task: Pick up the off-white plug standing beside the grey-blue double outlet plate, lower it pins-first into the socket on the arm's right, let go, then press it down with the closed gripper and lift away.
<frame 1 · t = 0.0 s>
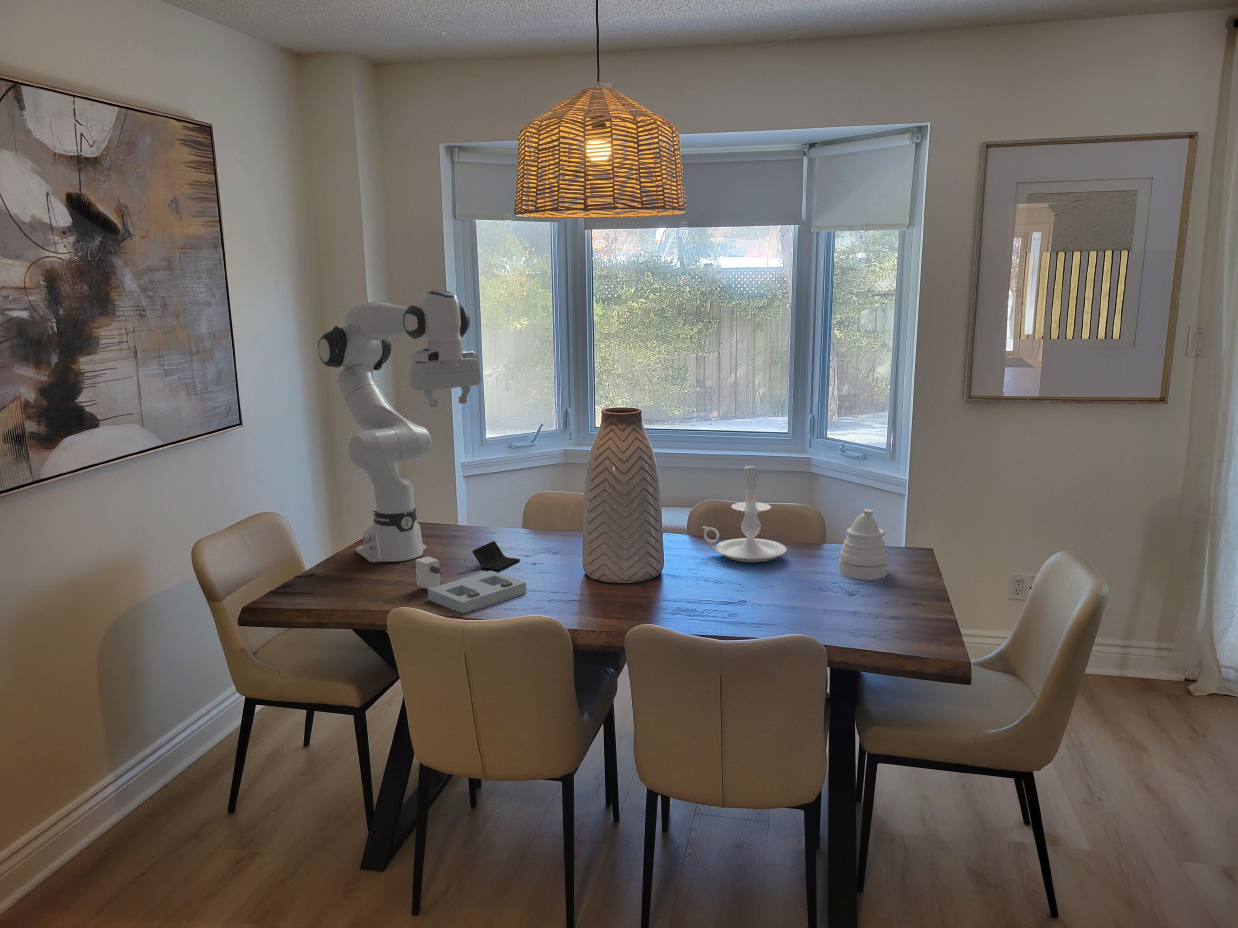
hand: (448, 405, 229), 48 cm above the table, tool pointing down, fingers open, 8 cm apart
plug: (428, 588, 229), on the table
outlet plate: (477, 596, 222), on the table
handheld gaming console: (496, 566, 249), on the table
candlestick: (743, 558, 251), on the table
honey pot: (863, 572, 236), on the table
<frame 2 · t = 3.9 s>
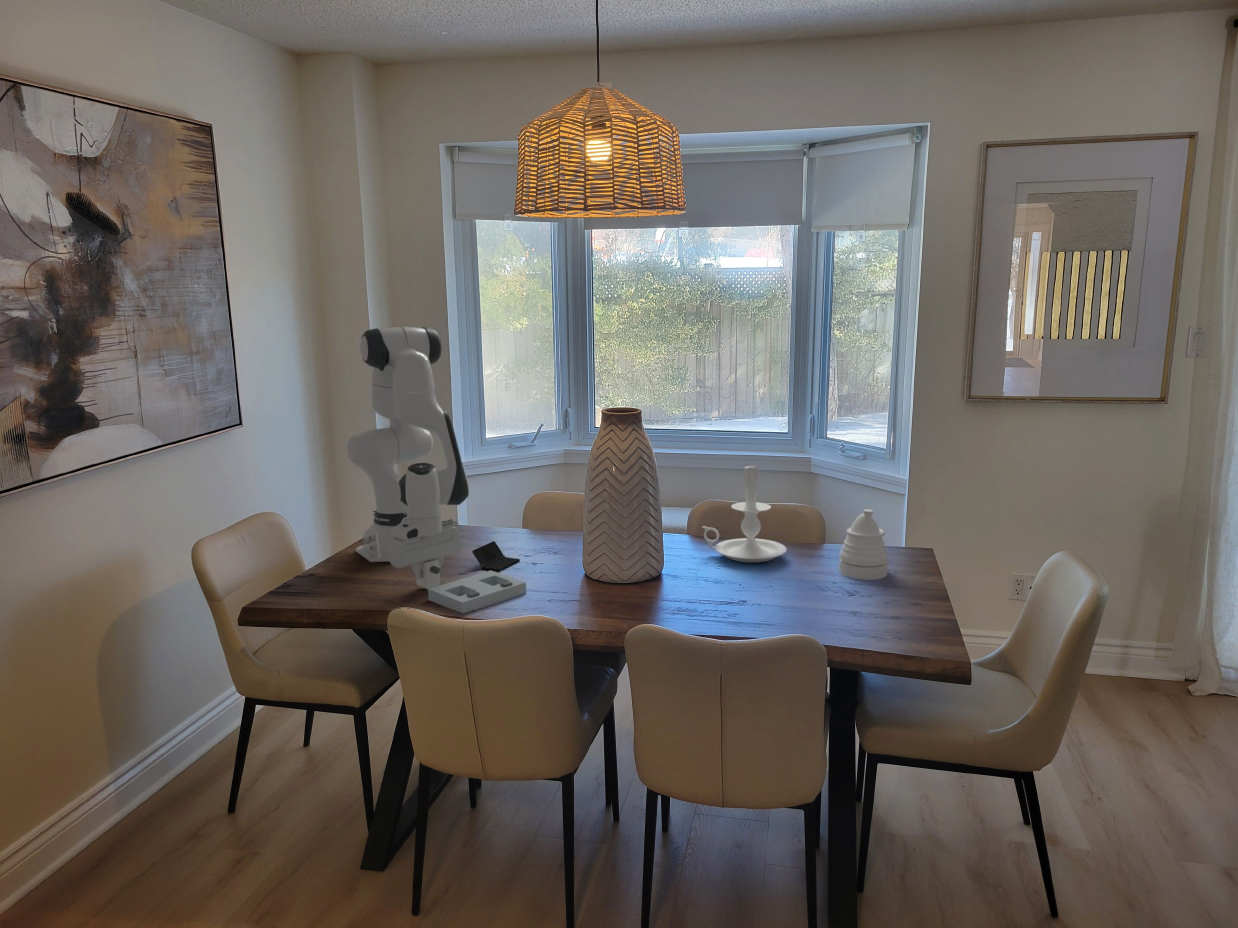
hand: (428, 575, 228), 4 cm above the table, tool pointing down, fingers closed on plug, 4 cm apart
plug: (428, 588, 229), on the table, touching gripper
everything else where it was.
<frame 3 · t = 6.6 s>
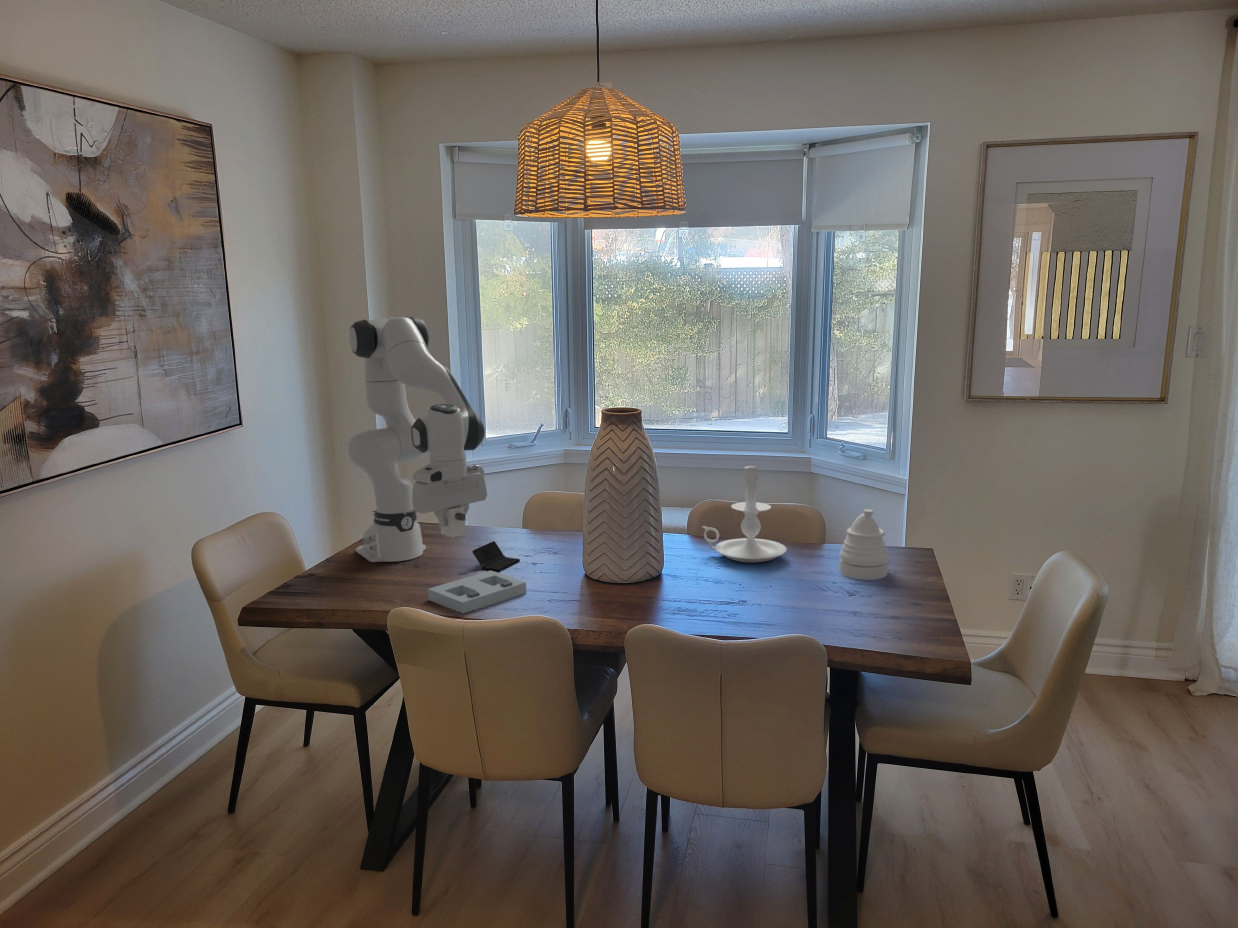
hand: (452, 524, 215), 20 cm above the table, tool pointing down, fingers closed on plug, 4 cm apart
plug: (453, 537, 216), point 17 cm above the table, touching gripper
everything else where it was.
when the fingers open (6 cm above the table, at t = 9.2 s): plug drops 2 cm, resting in outlet plate.
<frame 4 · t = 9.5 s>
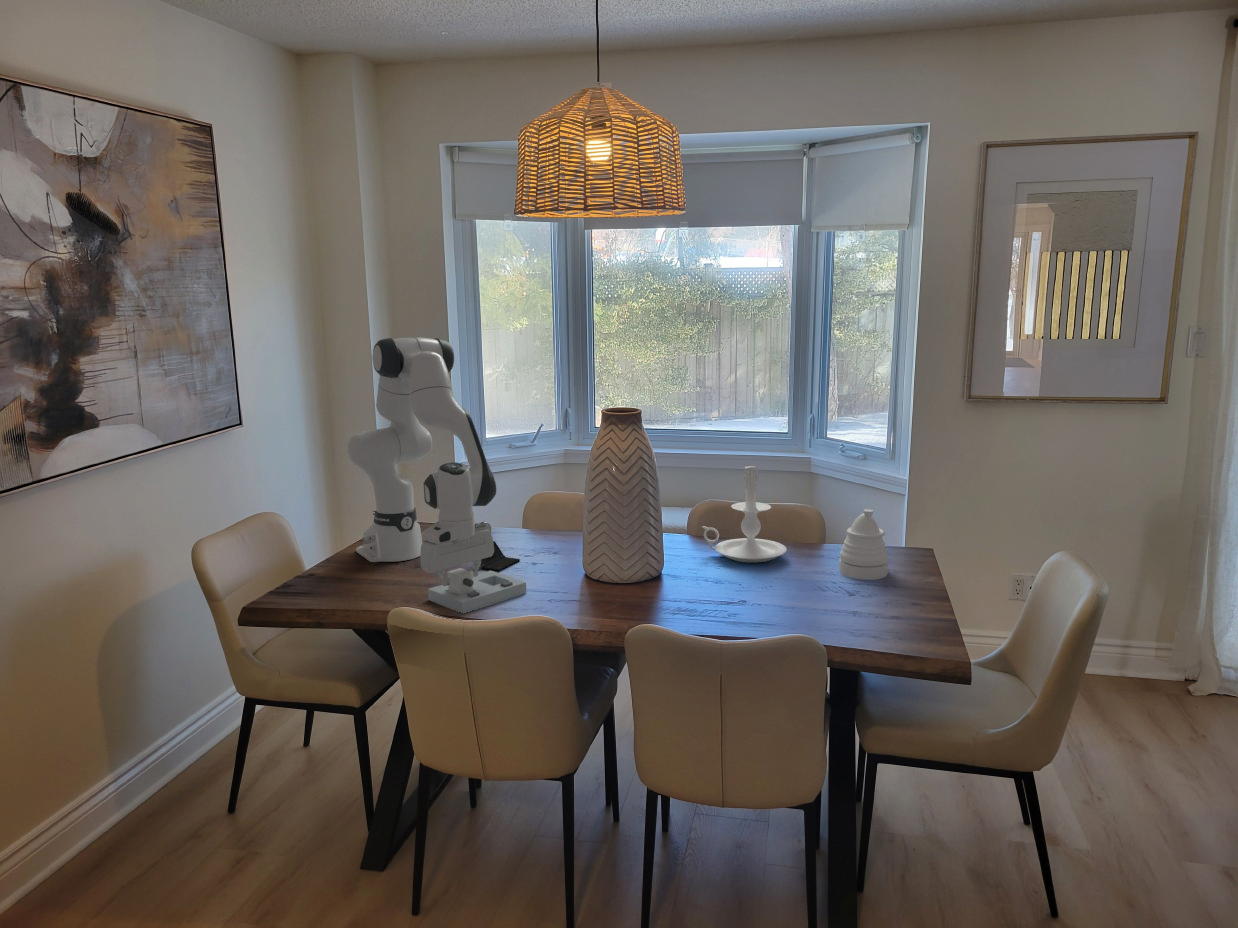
hand: (459, 580, 217), 6 cm above the table, tool pointing down, fingers open, 7 cm apart
plug: (461, 601, 218), resting in outlet plate
everything else where it was.
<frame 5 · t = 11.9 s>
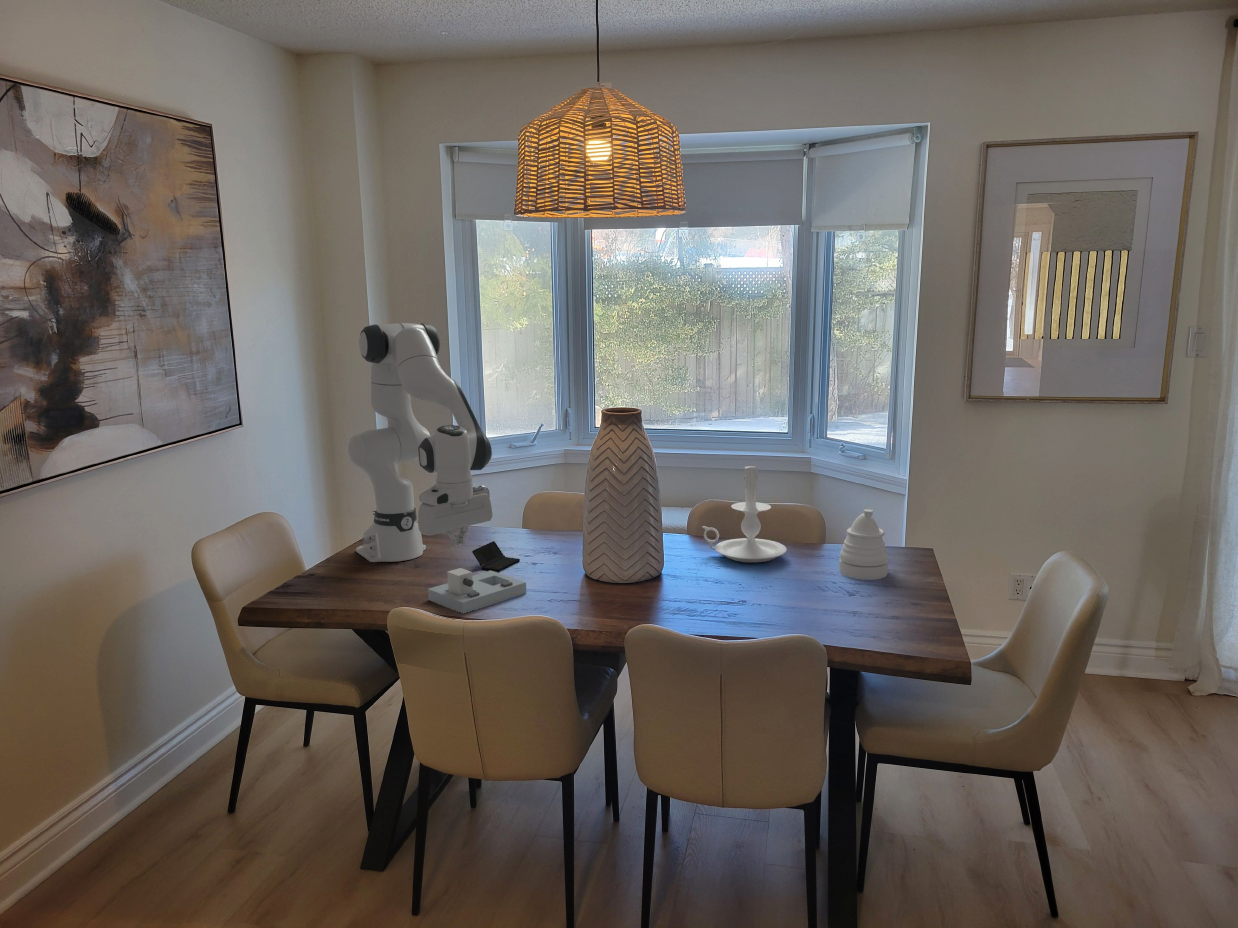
hand: (458, 544, 216), 15 cm above the table, tool pointing down, fingers closed
nothing on the table moved.
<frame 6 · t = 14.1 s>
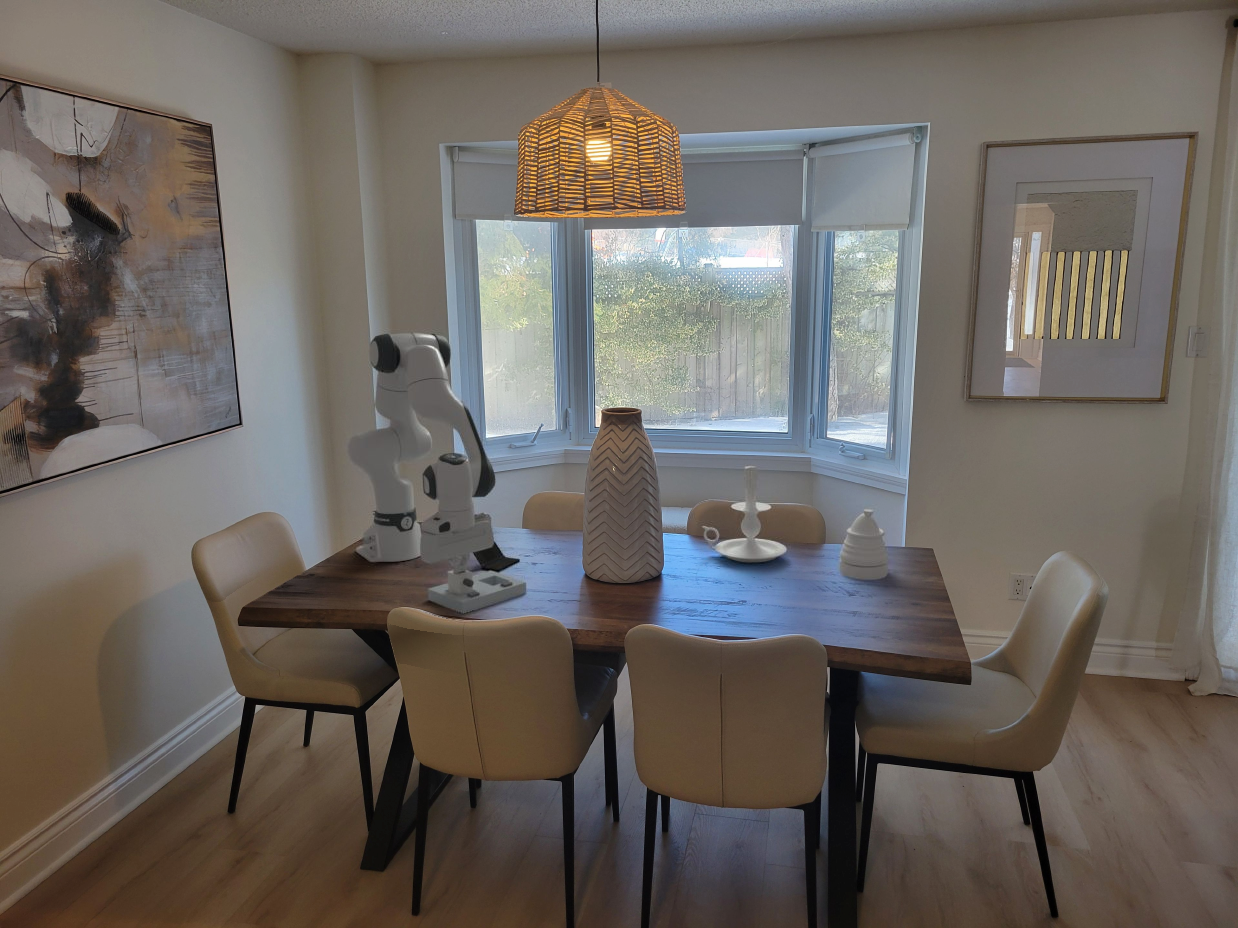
hand: (459, 571, 217), 8 cm above the table, tool pointing down, fingers closed, pressing on plug
plug: (461, 601, 218), resting in outlet plate, touching gripper
everything else where it was.
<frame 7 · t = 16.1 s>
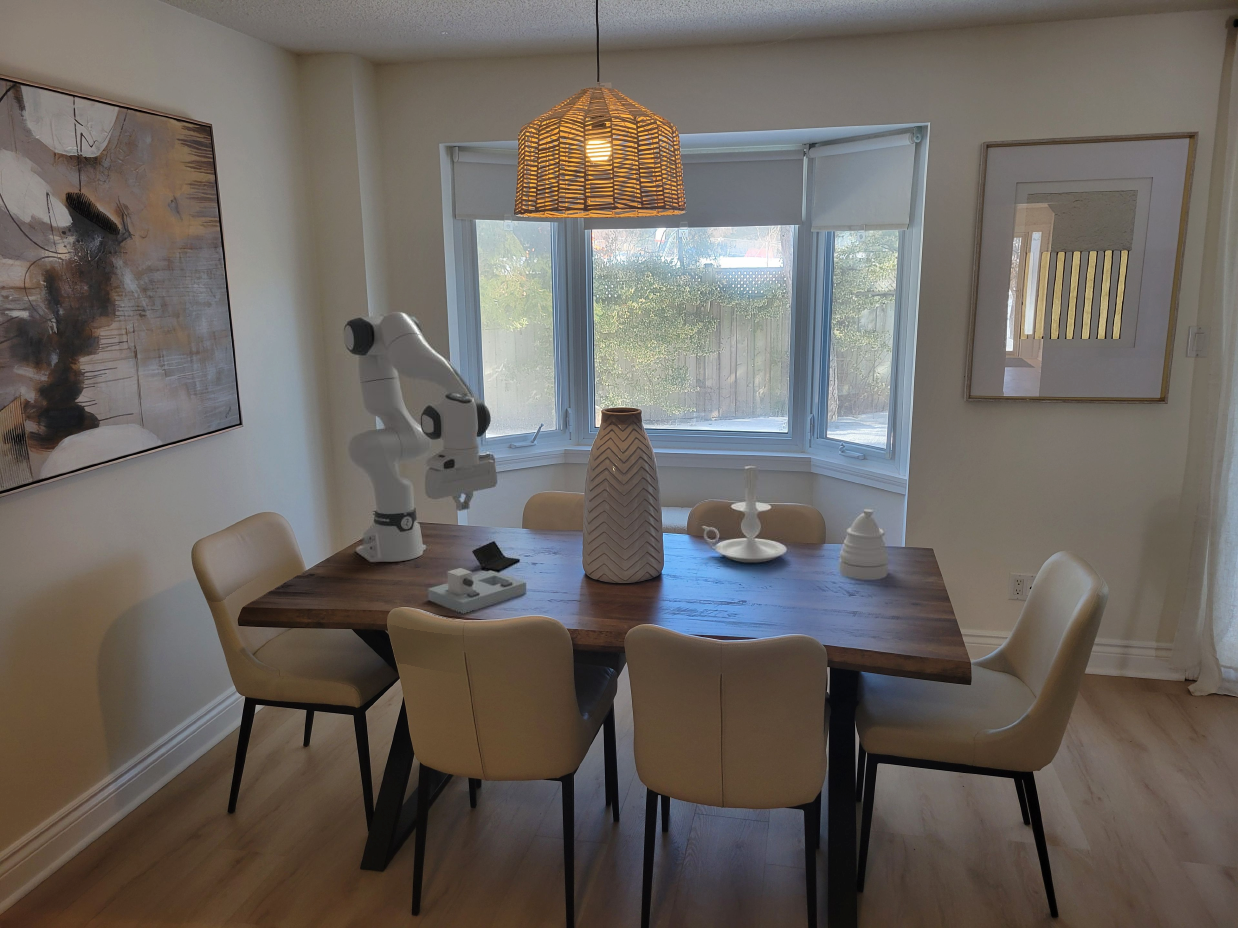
hand: (463, 509, 222), 22 cm above the table, tool pointing down, fingers closed
plug: (461, 601, 218), resting in outlet plate
everything else where it was.
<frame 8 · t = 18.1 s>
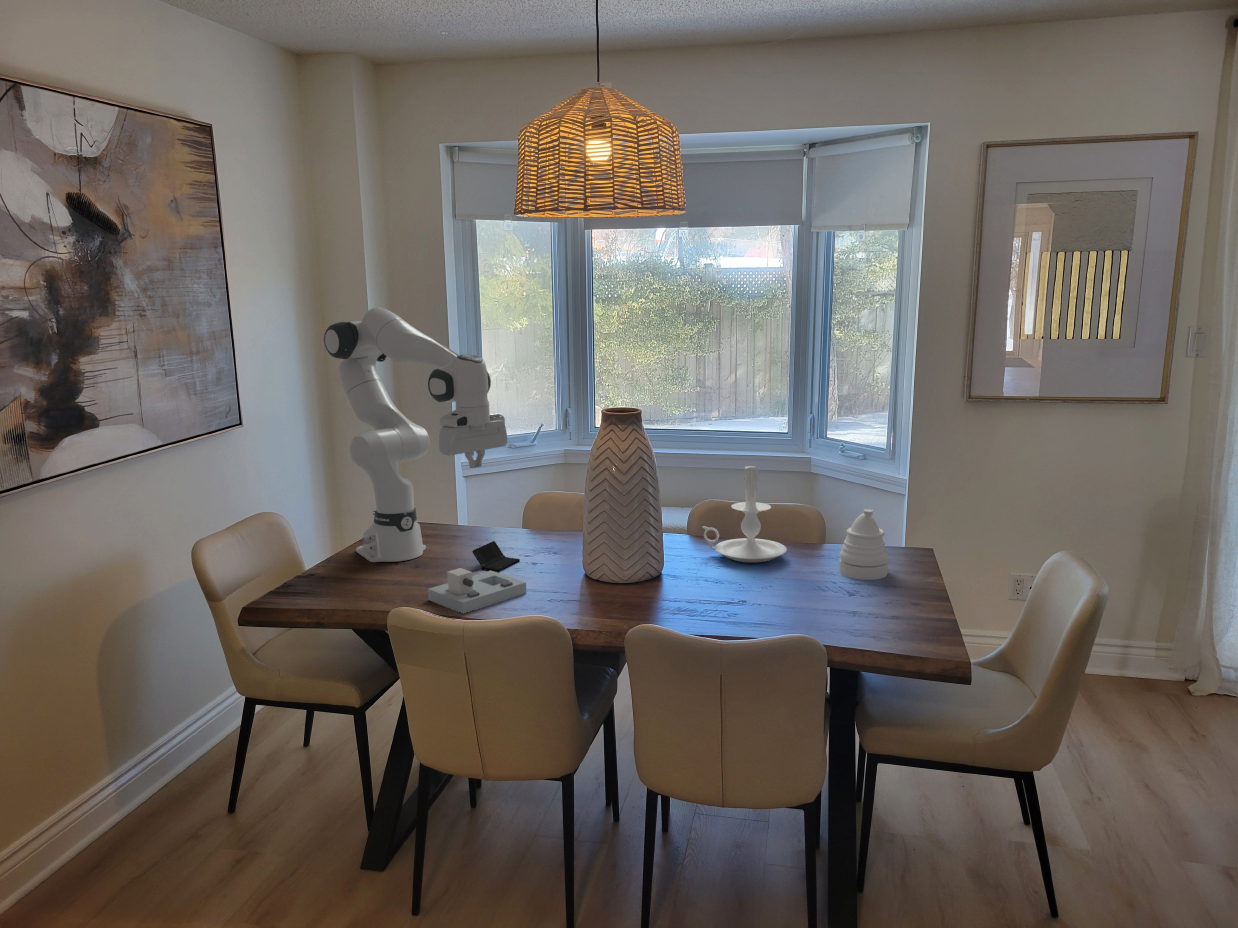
hand: (475, 467, 231), 31 cm above the table, tool pointing down, fingers closed
nothing on the table moved.
at the end: plug 0.0 cm from the target spot on the outlet plate, point 0.0 cm above the outlet plate's base; plug tilted 0°; the gripper is holding nothing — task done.
